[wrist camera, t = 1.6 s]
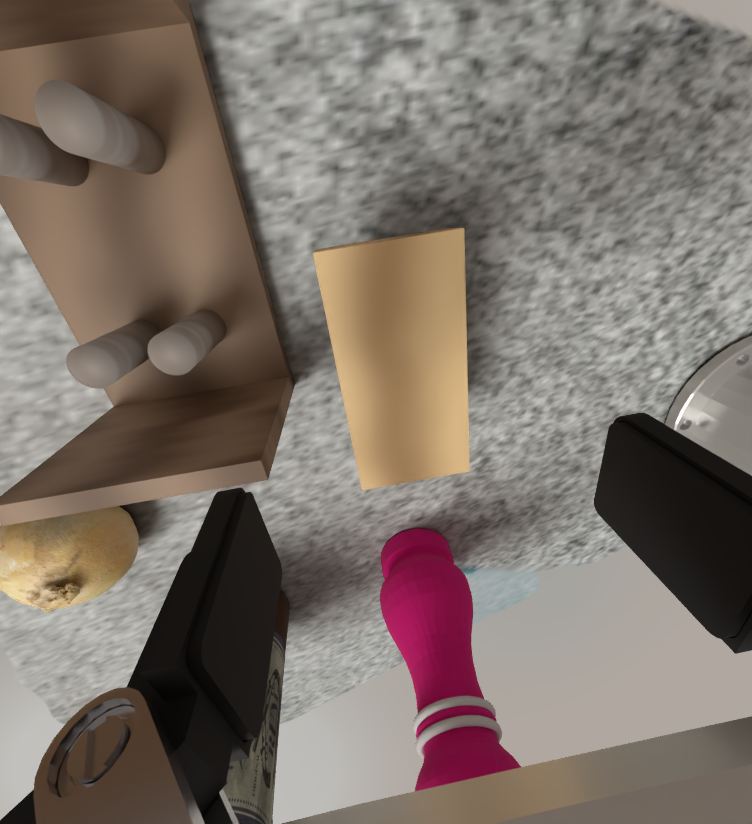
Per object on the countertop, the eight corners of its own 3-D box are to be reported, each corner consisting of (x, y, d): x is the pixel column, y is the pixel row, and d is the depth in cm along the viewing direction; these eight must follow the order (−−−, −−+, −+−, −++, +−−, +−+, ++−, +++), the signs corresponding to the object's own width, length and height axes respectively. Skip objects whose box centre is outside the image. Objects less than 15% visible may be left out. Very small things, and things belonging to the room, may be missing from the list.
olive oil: (238, 652, 36) (85, 1304, 14) (152, 604, 32) (-266, 1448, 10) (319, 608, 34) (284, 1291, 12) (239, 549, 30) (-44, 1466, 8)
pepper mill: (467, 532, 31) (632, 921, 14) (433, 584, 34) (534, 961, 17) (392, 516, 30) (472, 937, 12) (364, 572, 33) (394, 978, 15)
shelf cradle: (188, 2, 15) (-26, -322, 6) (294, 385, 23) (268, 479, 15) (-71, 41, 15) (-675, -236, 6) (129, 413, 23) (2, 526, 14)
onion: (105, 568, 29) (42, 659, 23) (10, 512, 26) (-94, 601, 20) (174, 522, 28) (126, 607, 22) (82, 457, 25) (-6, 535, 18)
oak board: (447, 228, 16) (464, 228, 14) (456, 447, 22) (469, 471, 19) (315, 249, 16) (312, 252, 14) (359, 464, 21) (362, 490, 19)
